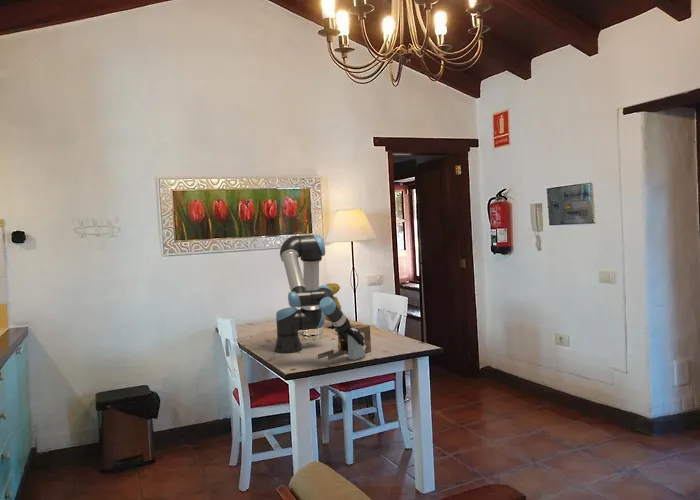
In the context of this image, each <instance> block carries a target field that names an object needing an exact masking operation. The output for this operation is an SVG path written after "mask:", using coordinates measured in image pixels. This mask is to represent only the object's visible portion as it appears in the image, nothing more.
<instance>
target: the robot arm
mask: <svg viewBox="0 0 700 500" xmlns="http://www.w3.org/2000/svg"><path fill="white" fill-rule="evenodd" d="M325 246H326V245H325V241H324V239H323V237H322V236H321V235H320V234H305V235H292V236H289V237H288V238H287V239H285V240H284V241H283V243H282V245H281V246H280V250H279V256H280V260H281V261H282V262H283V265H284V269H285V274H286V277H287V281H288V286H289V289H290V292H288V294H287V300H288V302H287V303H288V306H289V307H285V308H281V309H279V310H277V312H276V314H275V316H276V317H275V321H276V335H277V337H276V340H275V345H274V352H276V353H277V354H290V353H291V354H292V353H297V352H300V351H302V350H303V345H302V342H301V340H300V337H299V331H303V330H309V329H318V330H319V329H321V328H323V326H324V325H325V321H326V320H325V316H326V317H327V318H328V319H329V321H328V322H330V323H331V325H332V324H333V326H334V327H335V328H336V329H334V332H336V334H337V333H338V334H339V335H340V336H341V337H342V339H343V340H344V341H348V335H349V336H352V337H353V338H354V339H355V340H356V341H357V342H358V345H359V346H360V347H361V349H362V350H363V351H364V350H365V348H366V345H365V344H364V342H363V341H364V337H363V336H362V335H361V333H360V332H359V330H358V328H356V329H354V328H353V327H352V326H350V324H351V323H350V322H351V321H350V320H349V318H348V317H347V316H346V314H345V313H344V312H343V311H342V309H341V310H340V308H339V307H338V305H337V303H336V301H335V298H334V297H335V296H334V295H333V292H332V291H331V289H330V287H329V286H327V285H326V284H322V285H320V262H321V261H322V260H323V257H324V256H325V255H326V247H325ZM299 258H300V261H301V262H302V263H303V265H302V266H303V267H302V270H301V267H300V266H301V265H300V262H299ZM302 271H303V272H302Z"/></svg>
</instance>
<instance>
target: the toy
mask: <svg viewBox="0 0 700 500" xmlns="http://www.w3.org/2000/svg"><path fill="white" fill-rule="evenodd" d="M325 285H327V286H329V287H330V289H331V291H332V292H333V296H334V295H336V294H337V293H338V292H339V291H340V289H341V287H340V285H339V284H338V283H331V282H329V283H326V284H325ZM334 298H335V301H336V303H337V305H338V307H339V308H340V310H341V311H342V306H341V303H340V302H339V299H338V297H337V296H334ZM324 321H328V322H330V321H329V319H328V318H327V317H326V316H325V320H324ZM328 328H330V330H335V327H334V326H333V324H332V323H331V326H328V327H327V329H328Z"/></svg>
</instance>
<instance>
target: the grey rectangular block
mask: <svg viewBox="0 0 700 500" xmlns="http://www.w3.org/2000/svg"><path fill="white" fill-rule="evenodd" d="M361 335H362V336H363V337H364V333H361ZM363 342H364V344H365V340H364V341H363ZM347 355H348V360H353V361H354V360H358V359H361V358H364V357H366V354H365V350H364V351H363V350H362V349H361V347H360V346H359V345H358V342H357V341H356V340H355V339H354V338H353V337H352V336H349V335H348V354H347Z"/></svg>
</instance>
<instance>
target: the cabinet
mask: <svg viewBox="0 0 700 500" xmlns="http://www.w3.org/2000/svg"><path fill="white" fill-rule="evenodd" d="M350 326H352V327H353V328H354V329H356V328H358V330H359V332H360V333H364V340H365V345H366V348H365V355H366V354H368V353H371V352H372V341H371V340H372V339H371V325H368V324H367V325H366V324H355V323H354V324H353V323H352V324H351V323H350ZM336 335H337V341H338V343H337V349H338V352H335V350H334V349H330V350H328V351H324V352H321V353H317V357H318V359H322V358H325V357H327V359H328V360H333V359H335V358H338V357H341V356H344V355H348V341H344V340H343V339H342V337H341V336H340V335H339V334H338V333H337V332H336Z"/></svg>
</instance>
